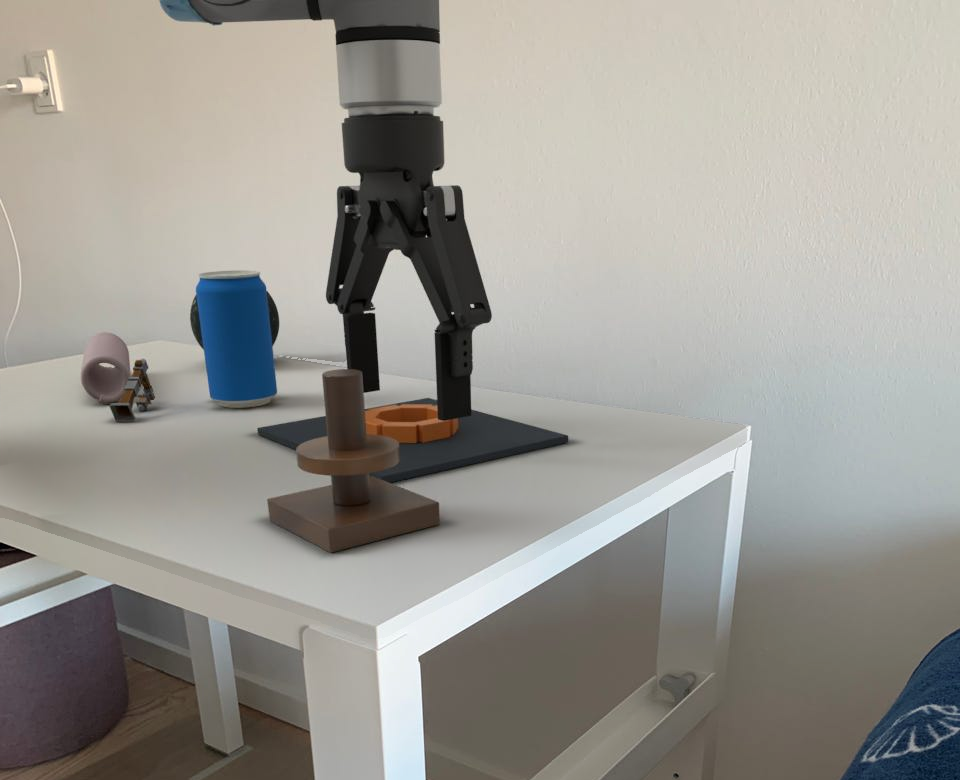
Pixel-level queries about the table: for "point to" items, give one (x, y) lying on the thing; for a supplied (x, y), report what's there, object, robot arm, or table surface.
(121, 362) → the pink tube
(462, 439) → the mat
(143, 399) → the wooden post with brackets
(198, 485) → the table surface
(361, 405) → the stand
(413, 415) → the ring
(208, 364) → the beverage can
